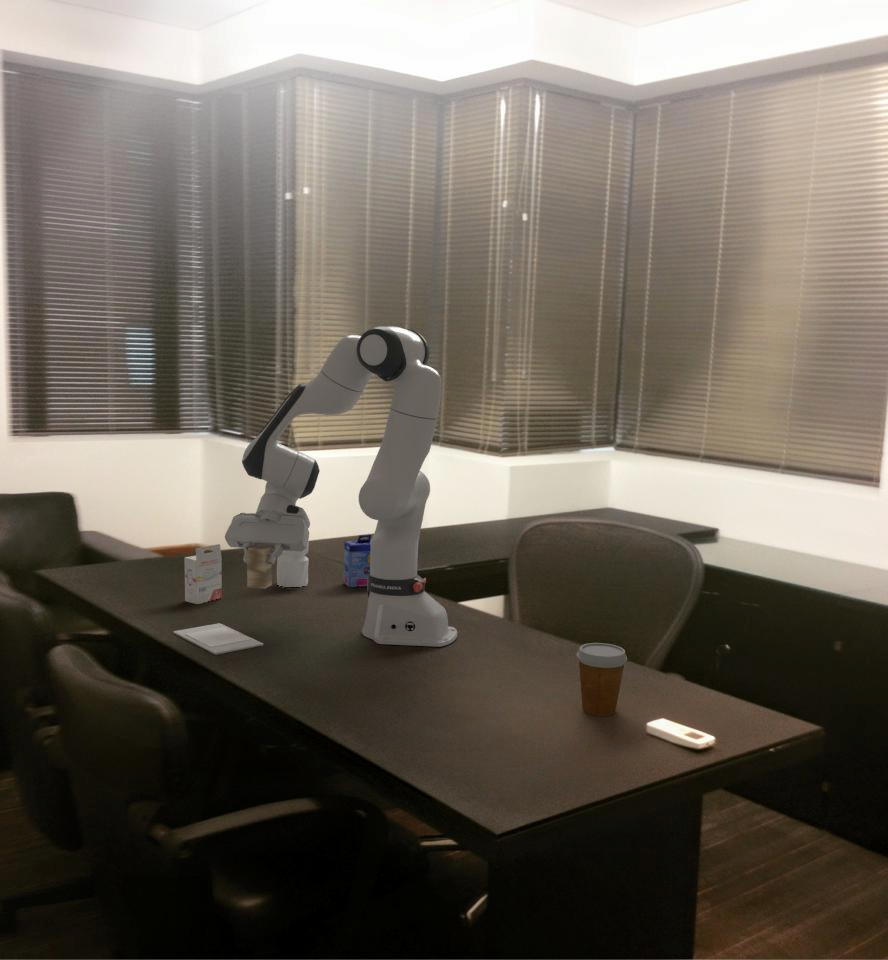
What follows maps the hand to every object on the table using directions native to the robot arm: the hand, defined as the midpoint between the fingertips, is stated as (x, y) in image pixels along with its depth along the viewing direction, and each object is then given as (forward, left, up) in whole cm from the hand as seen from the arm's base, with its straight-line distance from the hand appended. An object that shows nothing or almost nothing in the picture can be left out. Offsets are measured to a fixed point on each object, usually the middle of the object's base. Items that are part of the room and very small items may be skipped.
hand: (258, 562), depth 241 cm
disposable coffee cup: (-84, +29, -16) cm, 90 cm away
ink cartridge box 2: (-10, -49, -16) cm, 52 cm away
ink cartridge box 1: (+23, -18, -16) cm, 33 cm away
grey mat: (+4, +12, -16) cm, 20 cm away
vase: (+8, -42, -16) cm, 45 cm away
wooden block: (0, -1, -6) cm, 6 cm away
